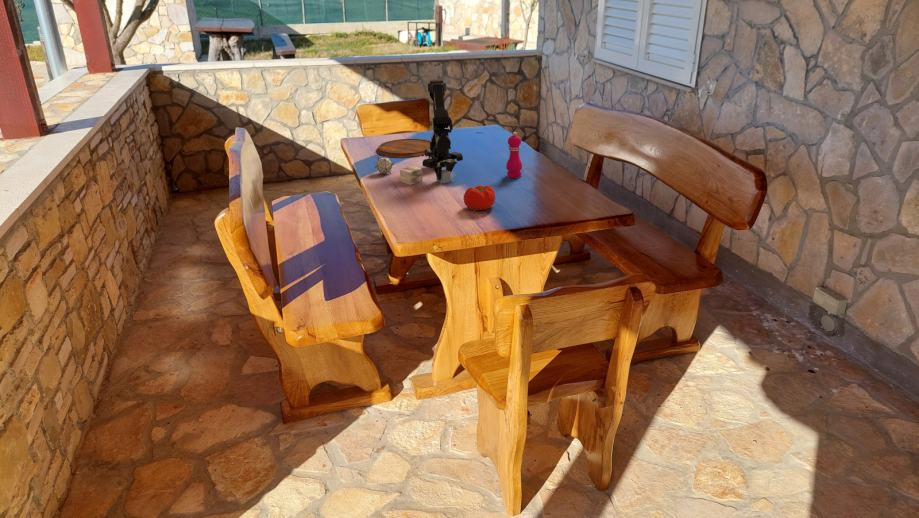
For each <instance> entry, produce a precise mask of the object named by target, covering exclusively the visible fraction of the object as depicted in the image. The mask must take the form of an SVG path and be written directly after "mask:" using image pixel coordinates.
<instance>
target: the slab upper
mask: <svg viewBox="0 0 919 518" xmlns="http://www.w3.org/2000/svg"><path fill="white" fill-rule="evenodd" d="M400 176H402V177H405V178H409V179H412V178H415V177H419V176H422V177H423V176H424V175H423V168H421V167H417V166H414V165H410V166H407V167H404V168H400V169H399V177H400Z"/></svg>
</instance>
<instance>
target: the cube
mask: <svg viewBox="0 0 919 518" xmlns="http://www.w3.org/2000/svg"><path fill="white" fill-rule="evenodd" d="M451 174H452V172H451V171H448V170H446V168H445V169H444V168H442V173H441V180H438V178H437V175H436V174H435V176H436V178H435V181H436V182H437V183H441V184H445V183H449V181H450V182H451V181H452V177H451Z"/></svg>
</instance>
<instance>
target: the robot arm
mask: <svg viewBox="0 0 919 518" xmlns="http://www.w3.org/2000/svg"><path fill="white" fill-rule="evenodd" d="M426 91H427V93H428V95H429V98H430V99H431V101H432V114H433V116H432V118H431V121H432V131H433V132H432V134H431V136H430V141H431V142H430V149H425V156H424V157H427V158H425V159H422V162H421V163H422V167H425V168H429V169H433V171H434V173H435V176H436V175H437V178H438V180H441V173H442V170H443V168H444V167H445V170H448V171H451V173H452V172H453V169H454V168H455V166H456V164H458V162H460V161H463V160H464V158H463V157H464V156H463V154H462V153H461V152H457V151H453V152H450V150H451V149H452V147H451V145H452V142H451V139H450V137H449V136H450V135H449V133H453V132H452V131H453V127H454V126H453V120H452V118H451V117H450V116H449V111H448V110H447V109H446V107H445V105H446V104H445V95H446V93H445V92H447V83H446V82H444V80H429V82H428V83H426Z"/></svg>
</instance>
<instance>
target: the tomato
mask: <svg viewBox="0 0 919 518" xmlns="http://www.w3.org/2000/svg"><path fill="white" fill-rule="evenodd" d="M495 201H496V192H495V190H494V188H493V187H492V186H490V185H487V184H486V185H476V186H474V187H468V188H467V189H466V190H465V192H464V193H463V203H464V205H465V206H466V207H467V208H468V209H470V210H474V211H480V210H483V211H485V210H488V209H490V208H491V207H493V205H494V204H495Z"/></svg>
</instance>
